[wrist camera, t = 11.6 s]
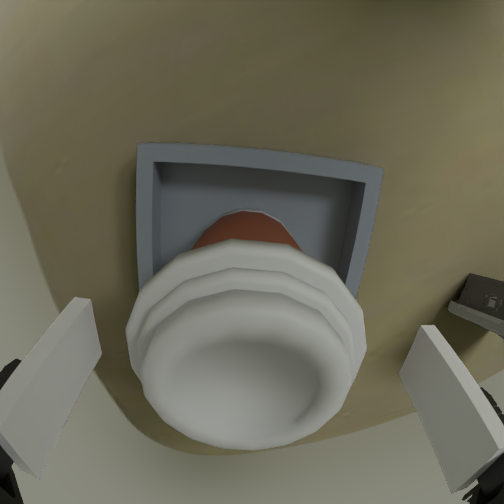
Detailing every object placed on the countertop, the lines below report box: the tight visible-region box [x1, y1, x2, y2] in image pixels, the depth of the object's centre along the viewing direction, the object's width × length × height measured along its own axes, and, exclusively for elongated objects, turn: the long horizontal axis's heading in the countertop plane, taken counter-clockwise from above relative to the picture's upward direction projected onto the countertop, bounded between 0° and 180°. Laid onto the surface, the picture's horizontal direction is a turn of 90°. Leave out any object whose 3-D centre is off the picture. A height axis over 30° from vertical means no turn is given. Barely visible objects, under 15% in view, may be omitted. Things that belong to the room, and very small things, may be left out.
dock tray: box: [136, 142, 384, 299], centre depth 20 cm, size 14×14×2 cm
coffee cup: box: [125, 208, 367, 450], centre depth 15 cm, size 9×9×12 cm
